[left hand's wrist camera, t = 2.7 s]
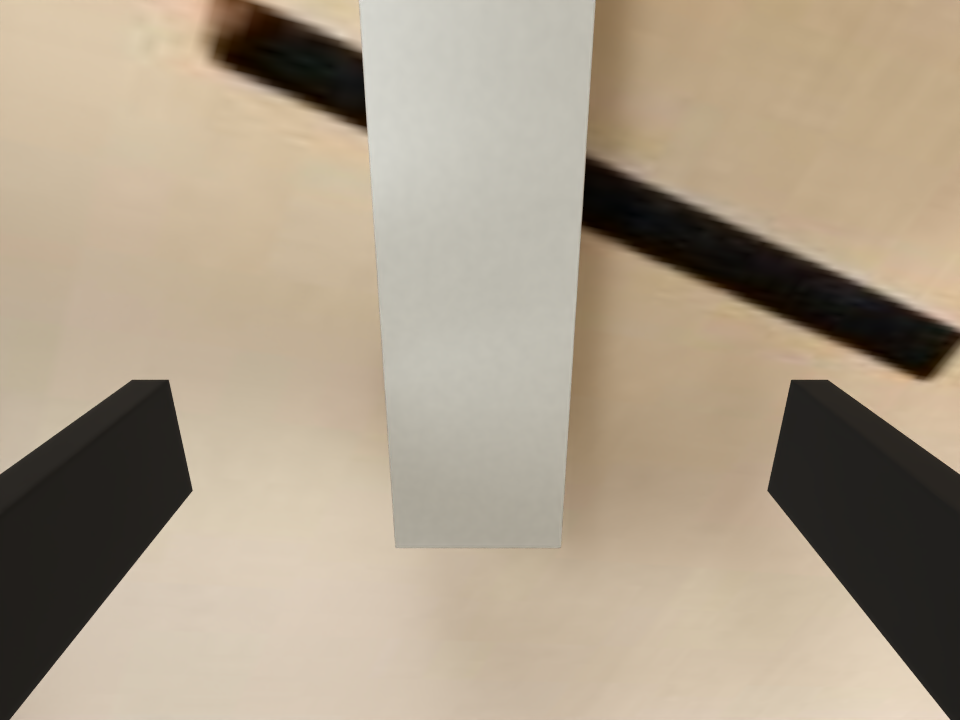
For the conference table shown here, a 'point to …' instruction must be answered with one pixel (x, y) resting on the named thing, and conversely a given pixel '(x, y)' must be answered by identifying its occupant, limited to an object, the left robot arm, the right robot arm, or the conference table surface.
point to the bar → (477, 257)
